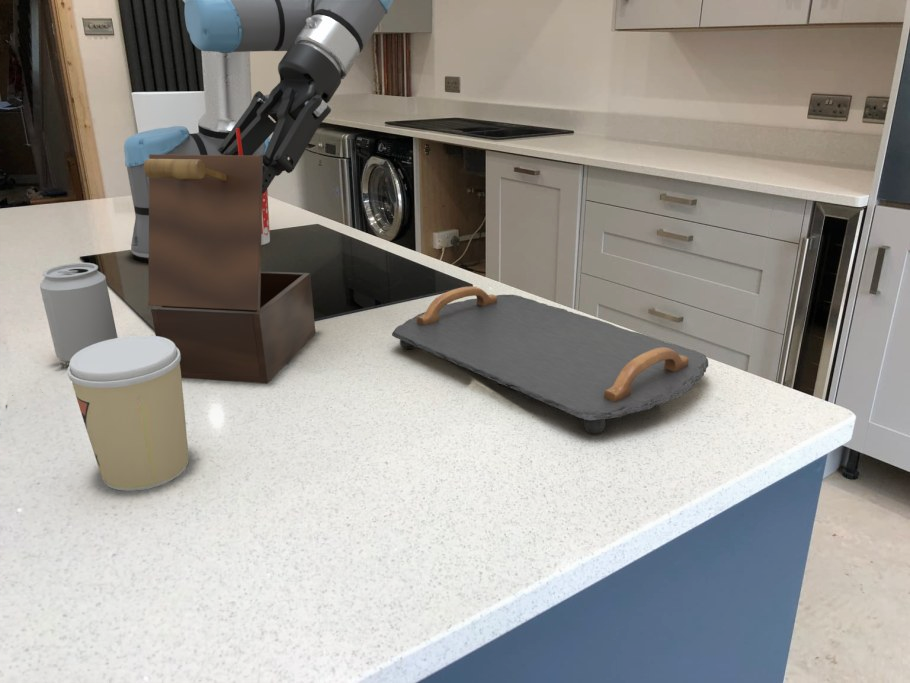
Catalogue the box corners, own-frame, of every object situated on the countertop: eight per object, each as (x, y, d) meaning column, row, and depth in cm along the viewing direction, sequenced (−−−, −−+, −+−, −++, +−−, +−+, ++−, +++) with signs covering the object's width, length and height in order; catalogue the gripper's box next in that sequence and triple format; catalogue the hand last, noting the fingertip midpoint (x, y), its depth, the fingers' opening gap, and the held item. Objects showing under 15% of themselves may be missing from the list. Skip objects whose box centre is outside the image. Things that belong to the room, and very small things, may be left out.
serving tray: (375, 345, 98) (372, 301, 96) (498, 306, 112) (498, 267, 110) (610, 454, 71) (615, 397, 69) (733, 384, 85) (740, 335, 83)
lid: (152, 155, 85) (110, 142, 77) (263, 156, 83) (230, 143, 75) (151, 305, 86) (110, 307, 79) (260, 310, 84) (228, 312, 77)
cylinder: (212, 218, 172) (195, 93, 162) (139, 219, 173) (117, 94, 162) (234, 204, 188) (219, 89, 178) (167, 204, 189) (149, 90, 178)
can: (133, 349, 98) (116, 262, 93) (90, 371, 91) (70, 279, 87) (88, 342, 100) (70, 257, 96) (44, 364, 94) (22, 273, 89)
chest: (225, 328, 105) (216, 269, 101) (315, 333, 102) (310, 273, 99) (162, 376, 90) (150, 308, 86) (267, 383, 87) (259, 314, 84)
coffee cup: (113, 446, 74) (89, 336, 69) (207, 441, 75) (190, 331, 70) (76, 499, 65) (46, 377, 61) (184, 493, 66) (162, 371, 61)
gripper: (255, 41, 97) (158, 182, 92) (348, 38, 85) (242, 201, 80) (292, 81, 103) (203, 216, 98) (384, 85, 91) (287, 239, 86)
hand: (221, 209), depth 89 cm, fingers closed on beverage cup, 6 cm apart
